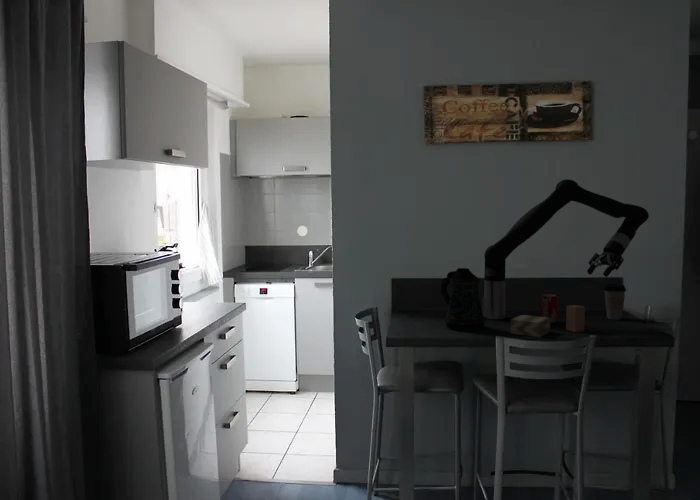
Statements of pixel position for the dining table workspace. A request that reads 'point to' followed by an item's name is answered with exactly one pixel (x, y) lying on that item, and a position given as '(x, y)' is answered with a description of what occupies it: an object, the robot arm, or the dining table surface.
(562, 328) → the dining table surface
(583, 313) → the terracotta block
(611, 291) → the coffee cup
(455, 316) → the beer stein
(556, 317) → the soda can
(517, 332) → the birch box
